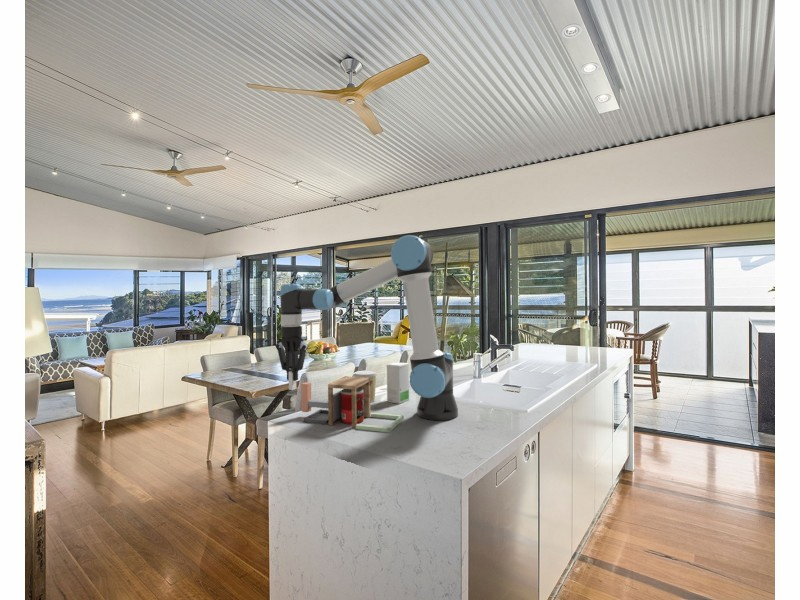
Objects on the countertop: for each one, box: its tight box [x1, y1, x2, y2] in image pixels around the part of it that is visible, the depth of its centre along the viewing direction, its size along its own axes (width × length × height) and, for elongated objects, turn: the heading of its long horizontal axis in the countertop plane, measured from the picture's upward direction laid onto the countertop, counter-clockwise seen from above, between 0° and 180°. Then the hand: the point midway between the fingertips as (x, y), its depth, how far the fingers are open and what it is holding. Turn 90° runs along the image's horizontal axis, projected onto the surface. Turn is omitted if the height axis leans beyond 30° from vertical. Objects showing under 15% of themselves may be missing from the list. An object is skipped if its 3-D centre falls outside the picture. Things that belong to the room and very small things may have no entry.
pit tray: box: [303, 408, 329, 425], centre depth 151 cm, size 9×12×1 cm
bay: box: [355, 412, 405, 433], centre depth 145 cm, size 12×15×1 cm
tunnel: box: [327, 375, 371, 429], centre depth 148 cm, size 10×13×14 cm
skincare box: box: [386, 361, 410, 404], centre depth 174 cm, size 8×7×16 cm
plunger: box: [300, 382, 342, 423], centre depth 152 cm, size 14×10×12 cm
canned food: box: [340, 388, 365, 425], centre depth 148 cm, size 8×8×11 cm
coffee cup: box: [353, 369, 377, 404], centre depth 174 cm, size 9×9×12 cm
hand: (292, 389), depth 155 cm, fingers closed
